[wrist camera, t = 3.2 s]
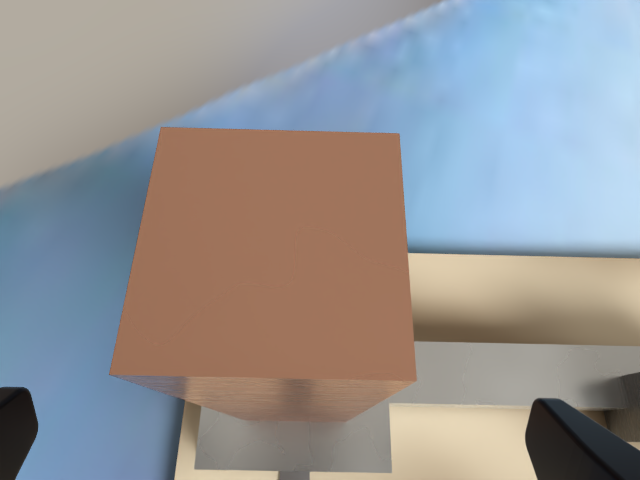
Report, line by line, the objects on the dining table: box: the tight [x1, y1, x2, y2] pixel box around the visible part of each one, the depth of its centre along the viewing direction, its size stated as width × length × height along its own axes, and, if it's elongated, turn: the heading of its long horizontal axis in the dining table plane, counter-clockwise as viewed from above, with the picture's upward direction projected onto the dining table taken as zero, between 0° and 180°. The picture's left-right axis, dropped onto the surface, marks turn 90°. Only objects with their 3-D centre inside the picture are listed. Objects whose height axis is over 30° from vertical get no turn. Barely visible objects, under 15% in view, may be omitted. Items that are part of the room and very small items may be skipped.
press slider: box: [109, 127, 640, 473], centre depth 11 cm, size 6×18×12 cm, turn 89°
